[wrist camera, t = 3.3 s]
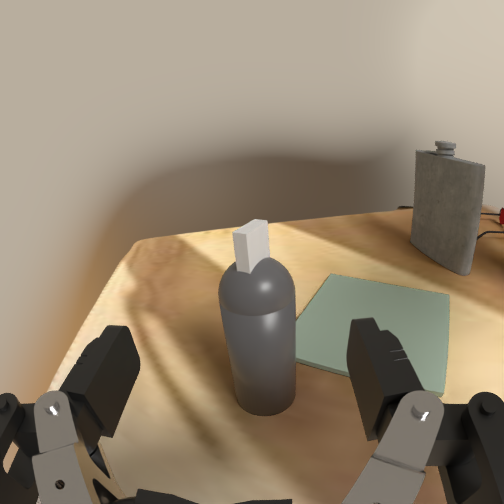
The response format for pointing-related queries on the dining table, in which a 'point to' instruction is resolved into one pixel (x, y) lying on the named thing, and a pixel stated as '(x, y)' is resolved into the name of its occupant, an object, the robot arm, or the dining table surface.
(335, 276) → the mat
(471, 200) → the hip flask
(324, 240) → the dining table surface
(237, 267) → the grey bottle
